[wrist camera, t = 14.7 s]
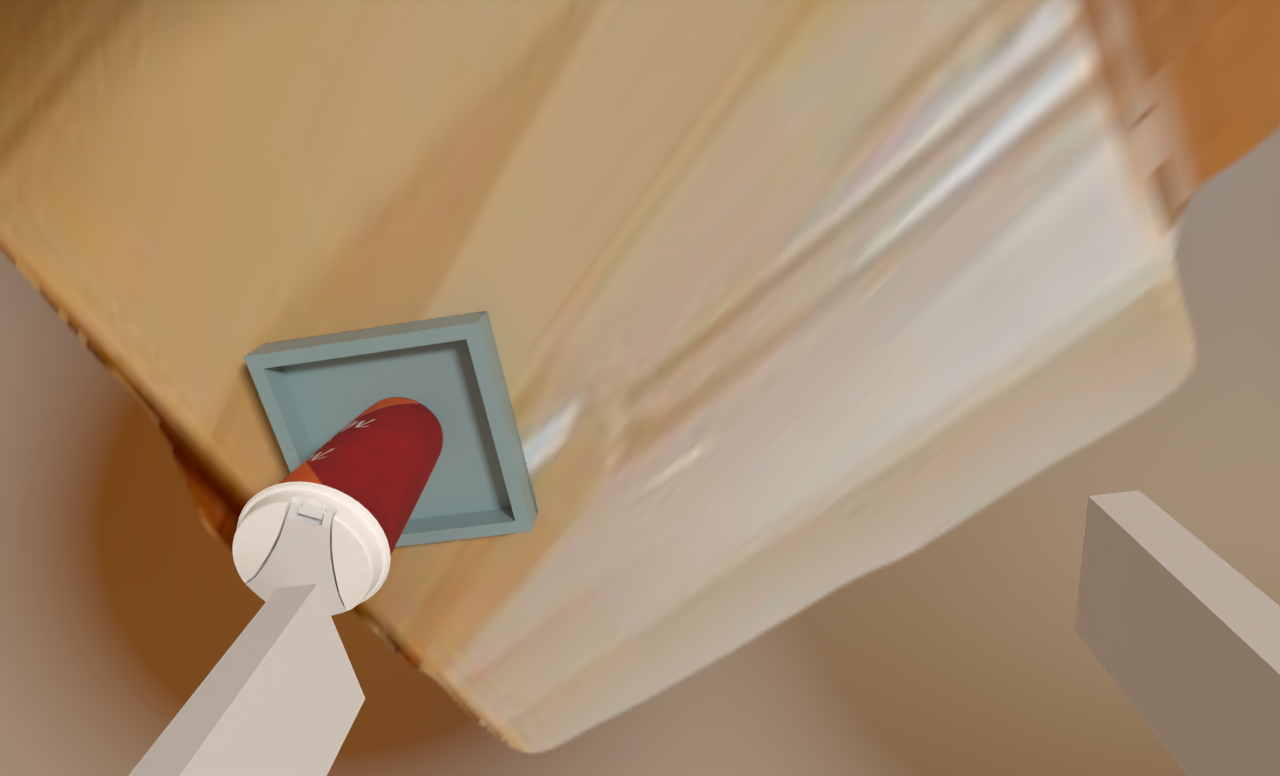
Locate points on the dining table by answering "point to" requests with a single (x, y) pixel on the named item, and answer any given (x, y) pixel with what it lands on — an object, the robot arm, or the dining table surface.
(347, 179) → the dining table surface
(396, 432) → the coffee cup
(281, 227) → the dining table surface
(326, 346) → the tray
